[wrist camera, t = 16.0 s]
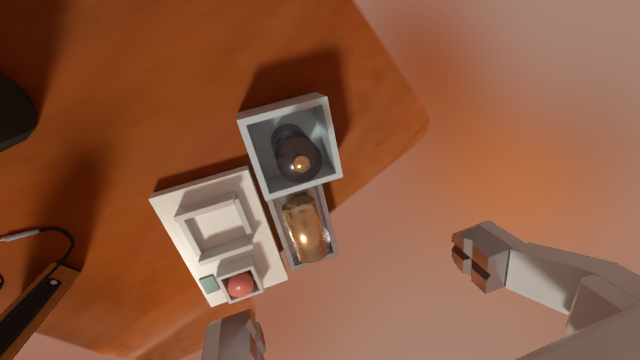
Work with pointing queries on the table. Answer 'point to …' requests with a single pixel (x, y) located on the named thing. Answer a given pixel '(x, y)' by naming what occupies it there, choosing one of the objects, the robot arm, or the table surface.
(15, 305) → the multimeter
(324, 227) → the trough
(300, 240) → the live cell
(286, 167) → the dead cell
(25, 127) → the potion bottle
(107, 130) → the table surface
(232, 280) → the button
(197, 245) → the battery tester
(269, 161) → the grey square open box
